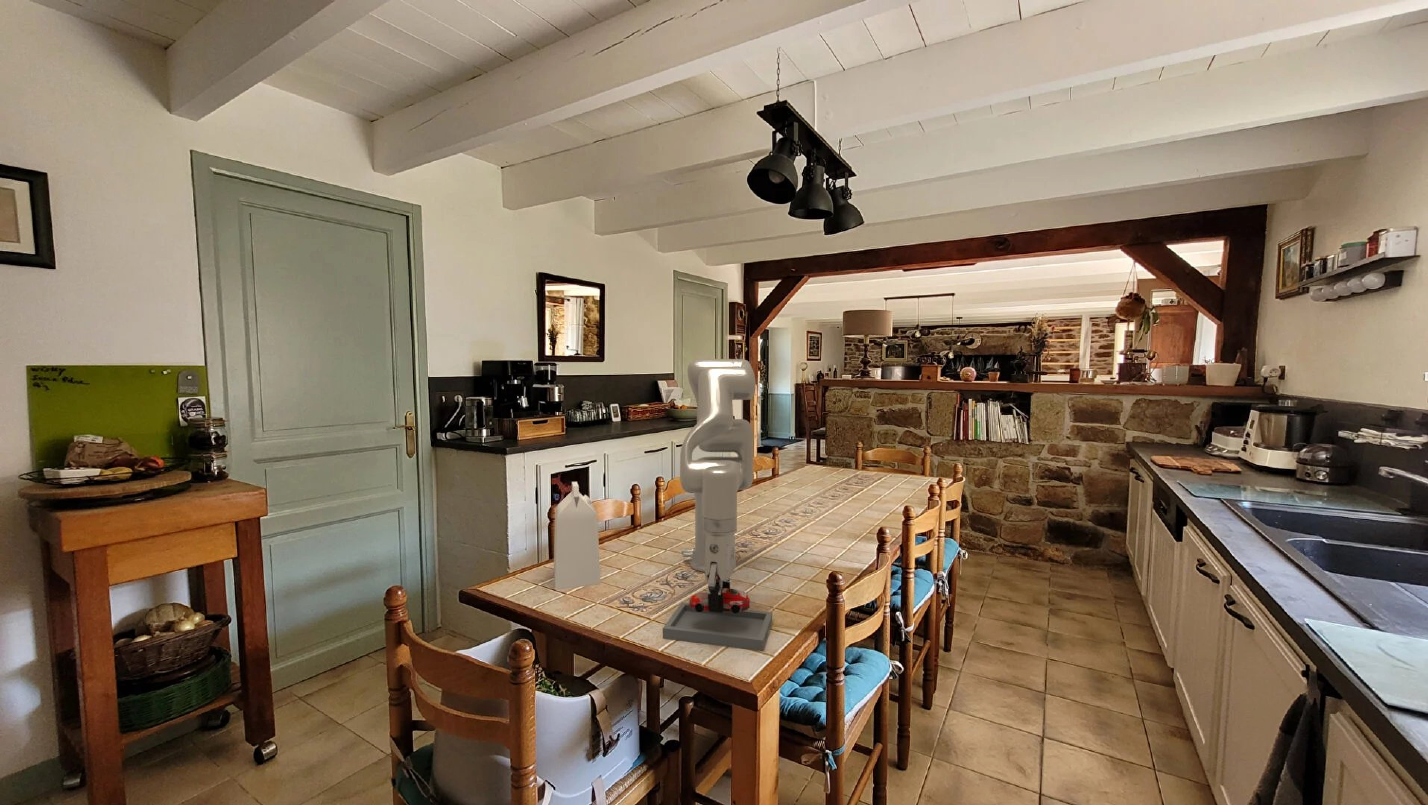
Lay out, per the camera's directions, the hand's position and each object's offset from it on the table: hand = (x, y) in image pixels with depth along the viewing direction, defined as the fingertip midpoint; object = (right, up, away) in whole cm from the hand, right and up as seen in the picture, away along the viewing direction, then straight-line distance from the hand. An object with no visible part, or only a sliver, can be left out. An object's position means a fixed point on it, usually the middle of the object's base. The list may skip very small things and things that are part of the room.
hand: (719, 604), depth 121 cm
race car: (0, -1, 0) cm, 1 cm away
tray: (0, -6, 0) cm, 6 cm away
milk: (-38, -4, +30) cm, 49 cm away
